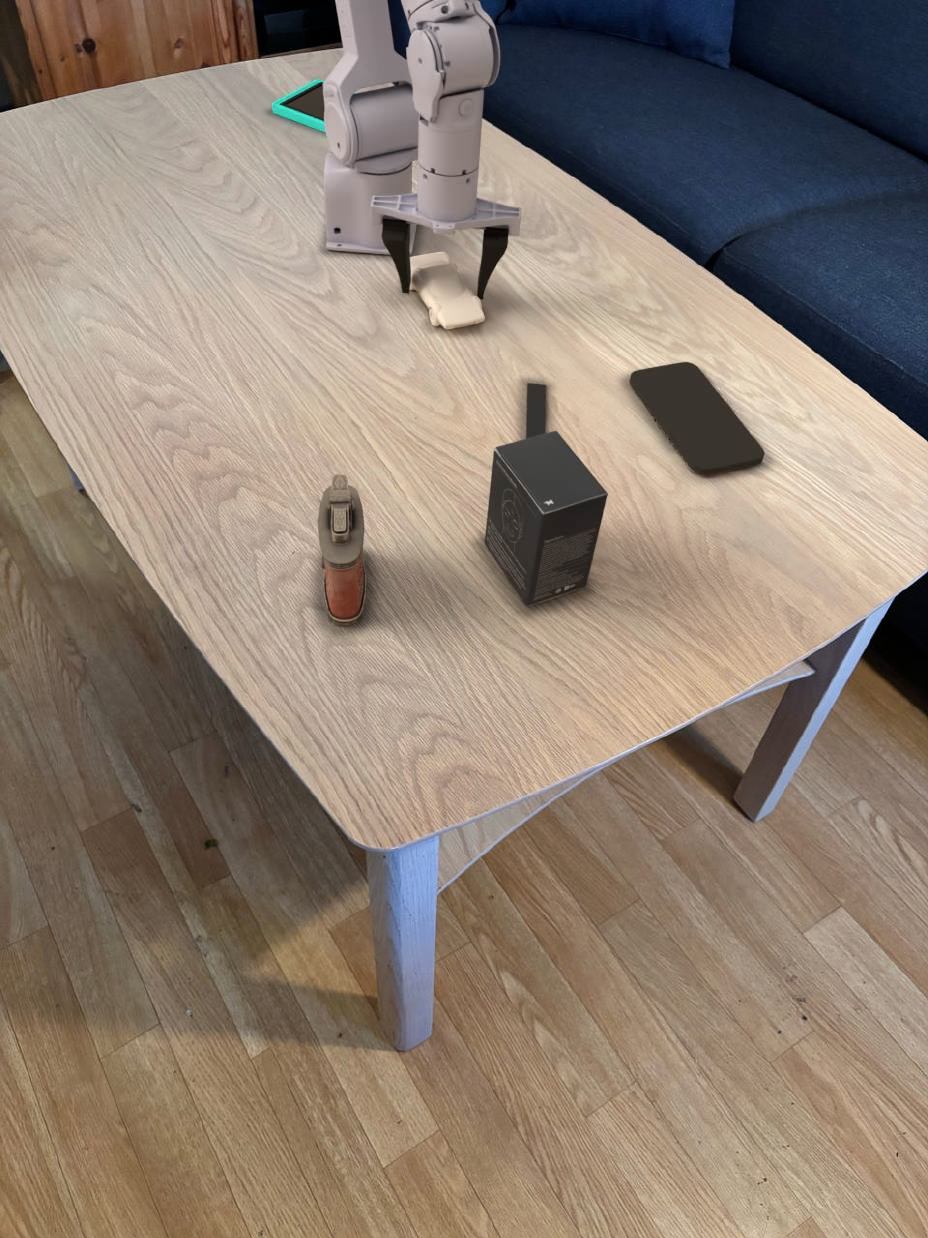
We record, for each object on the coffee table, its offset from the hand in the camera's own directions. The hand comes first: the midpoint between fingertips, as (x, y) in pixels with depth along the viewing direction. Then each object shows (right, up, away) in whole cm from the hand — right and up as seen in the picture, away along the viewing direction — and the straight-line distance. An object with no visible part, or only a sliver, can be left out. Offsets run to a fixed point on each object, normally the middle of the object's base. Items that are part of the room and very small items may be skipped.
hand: (443, 290), depth 100 cm
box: (+8, -30, -21) cm, 37 cm away
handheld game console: (-14, +31, +26) cm, 43 cm away
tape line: (+9, -17, -11) cm, 22 cm away
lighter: (-7, -32, -24) cm, 40 cm away
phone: (+24, -15, -9) cm, 30 cm away
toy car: (0, -1, +1) cm, 2 cm away
